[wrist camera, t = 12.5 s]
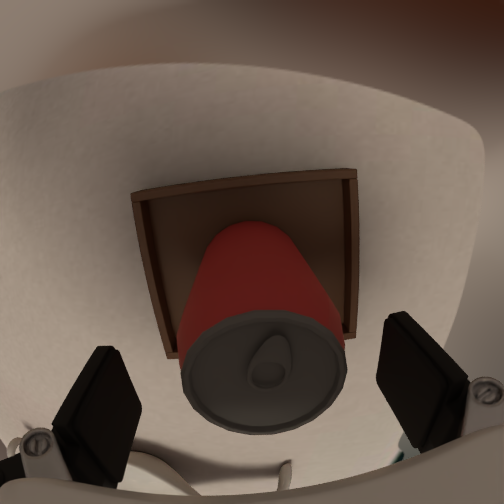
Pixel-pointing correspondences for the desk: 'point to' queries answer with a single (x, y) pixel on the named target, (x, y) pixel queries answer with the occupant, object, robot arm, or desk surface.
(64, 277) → the desk surface
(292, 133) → the desk surface
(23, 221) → the desk surface
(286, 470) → the spoon rest
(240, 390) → the beer can
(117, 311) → the desk surface
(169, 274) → the tray
